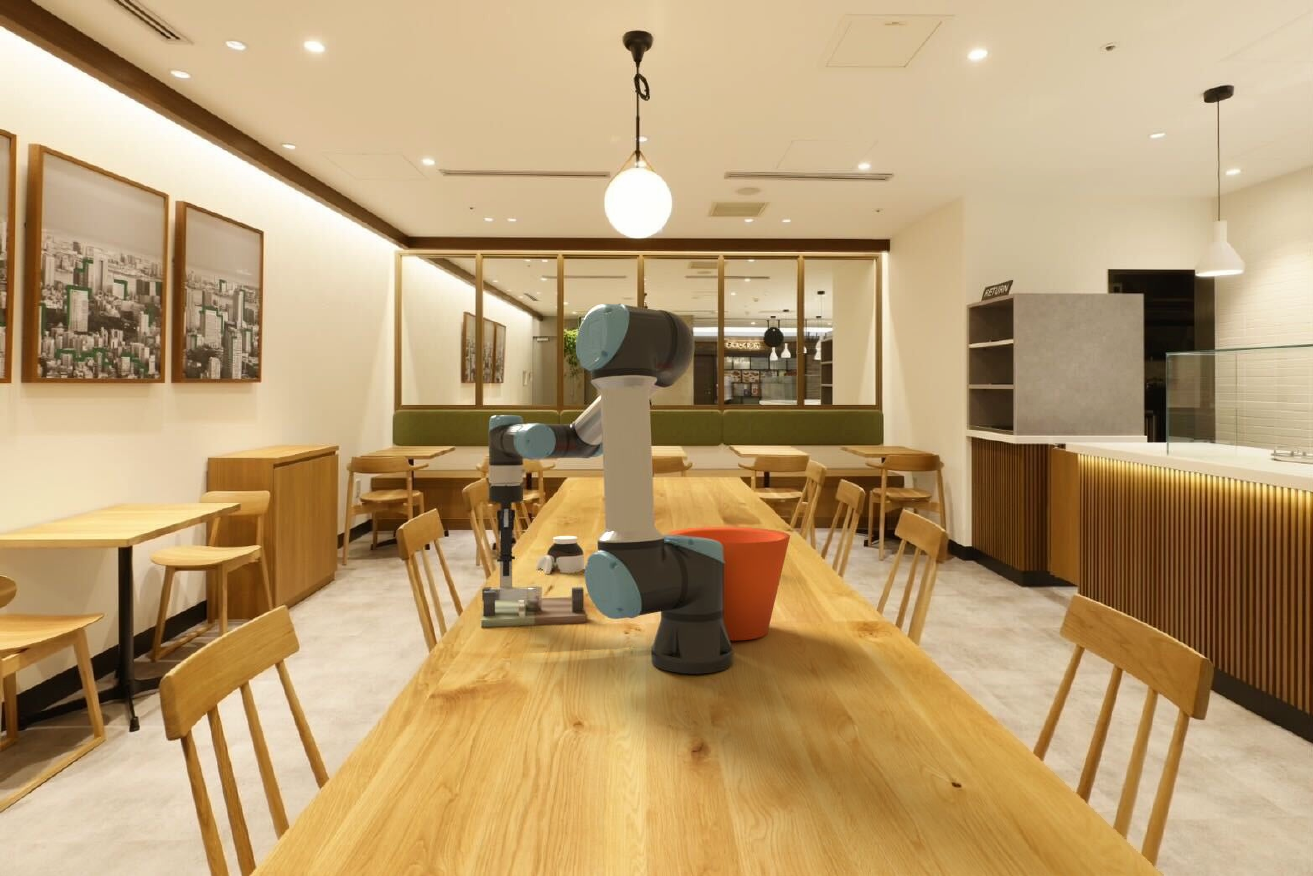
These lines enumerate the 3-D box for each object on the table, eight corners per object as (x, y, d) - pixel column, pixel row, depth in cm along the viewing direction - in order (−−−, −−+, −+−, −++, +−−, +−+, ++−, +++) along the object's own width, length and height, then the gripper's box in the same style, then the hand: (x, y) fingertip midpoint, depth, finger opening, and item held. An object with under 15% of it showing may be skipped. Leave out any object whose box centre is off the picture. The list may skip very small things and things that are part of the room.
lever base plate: (586, 622, 160) (586, 592, 160) (481, 627, 156) (481, 596, 156) (578, 603, 179) (578, 575, 178) (484, 606, 174) (484, 579, 174)
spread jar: (588, 578, 209) (588, 537, 209) (562, 585, 200) (562, 542, 200) (555, 574, 216) (555, 534, 216) (528, 580, 206) (528, 538, 206)
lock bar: (542, 606, 167) (542, 586, 167) (541, 610, 163) (541, 589, 163) (484, 607, 166) (484, 586, 166) (481, 611, 162) (481, 590, 162)
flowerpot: (702, 610, 171) (702, 524, 171) (807, 624, 158) (807, 531, 158) (645, 635, 150) (645, 536, 150) (761, 654, 137) (761, 546, 137)
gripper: (523, 486, 161) (523, 595, 161) (522, 482, 174) (522, 583, 174) (488, 486, 159) (488, 596, 159) (489, 482, 172) (489, 584, 172)
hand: (506, 589), depth 166 cm, fingers closed
